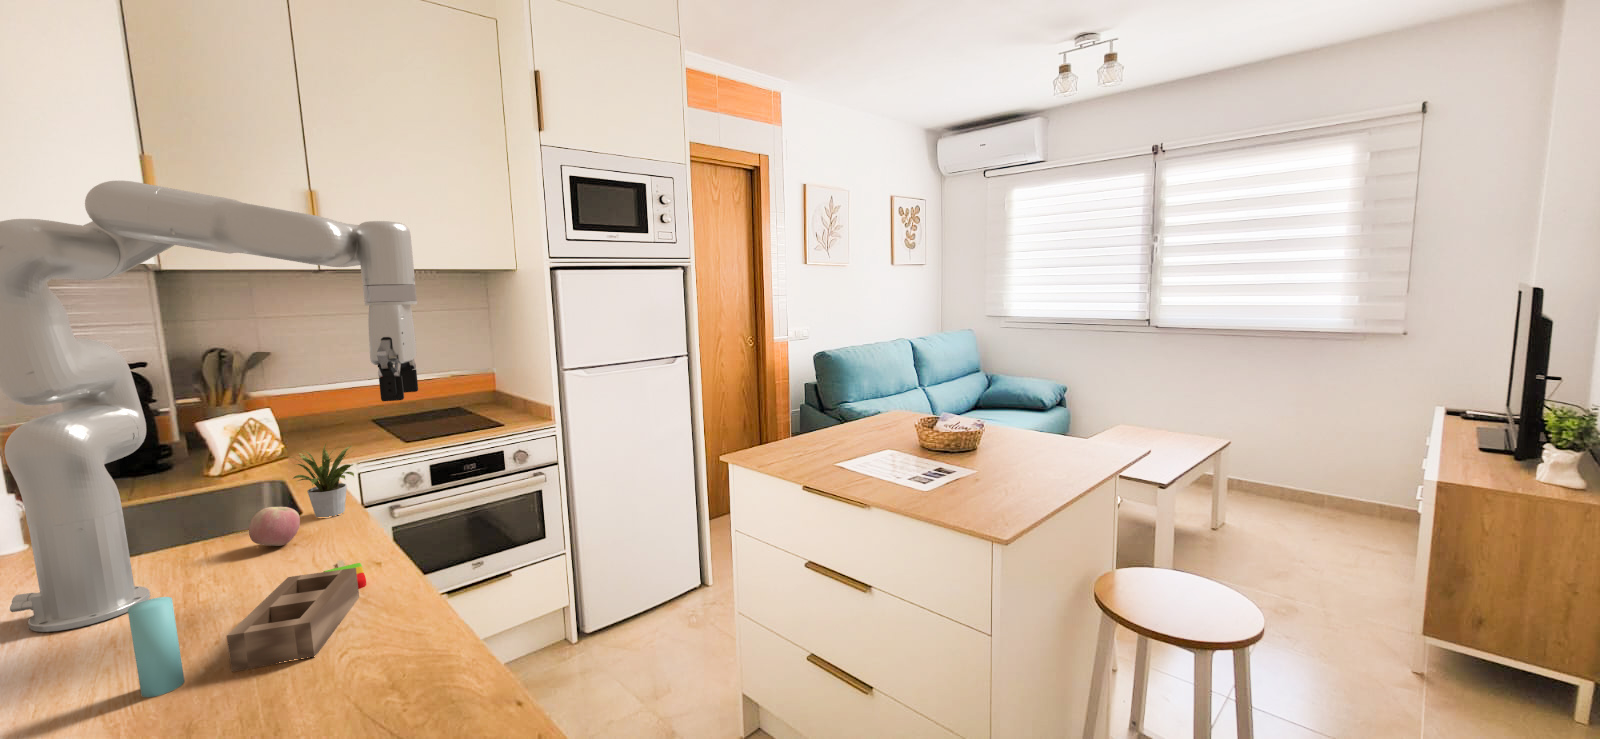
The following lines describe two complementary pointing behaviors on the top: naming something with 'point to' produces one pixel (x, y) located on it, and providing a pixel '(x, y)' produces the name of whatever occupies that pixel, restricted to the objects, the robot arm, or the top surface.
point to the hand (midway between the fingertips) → (400, 396)
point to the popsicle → (359, 571)
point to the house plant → (326, 484)
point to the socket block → (293, 619)
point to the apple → (274, 526)
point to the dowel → (156, 646)
